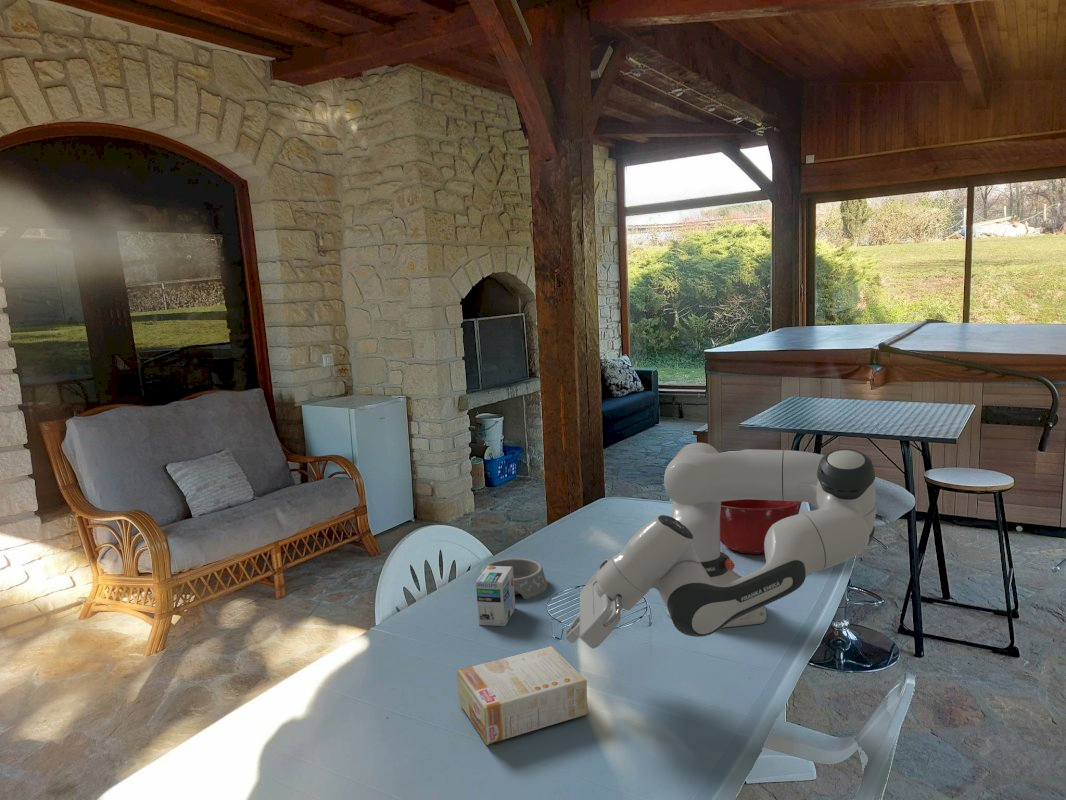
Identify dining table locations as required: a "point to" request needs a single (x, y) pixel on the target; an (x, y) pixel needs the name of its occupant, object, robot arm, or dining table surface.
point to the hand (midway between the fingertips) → (569, 637)
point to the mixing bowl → (751, 522)
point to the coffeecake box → (521, 694)
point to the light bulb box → (495, 595)
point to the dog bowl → (524, 576)
